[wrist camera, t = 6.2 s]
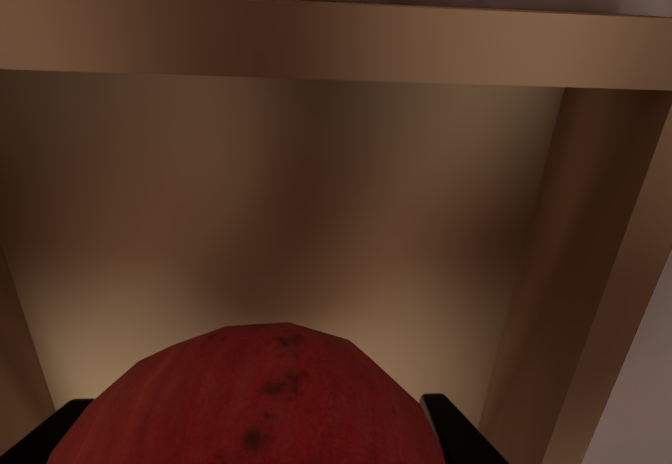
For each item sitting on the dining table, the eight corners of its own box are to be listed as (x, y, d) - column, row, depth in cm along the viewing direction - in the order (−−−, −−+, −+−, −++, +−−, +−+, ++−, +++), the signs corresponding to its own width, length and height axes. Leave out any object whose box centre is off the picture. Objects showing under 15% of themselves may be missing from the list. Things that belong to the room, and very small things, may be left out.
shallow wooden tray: (621, 14, 10) (766, 22, 7) (503, 422, 16) (553, 529, 12) (-129, -19, 9) (-364, -28, 6) (36, 432, 14) (-38, 552, 11)
